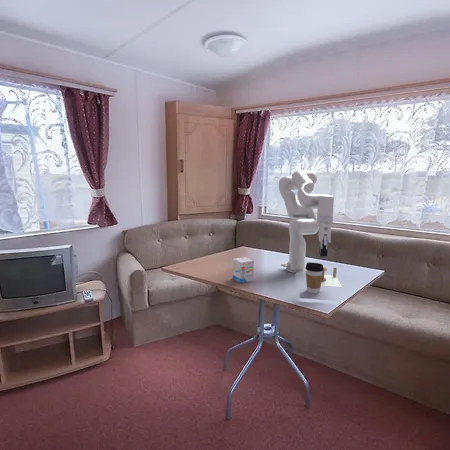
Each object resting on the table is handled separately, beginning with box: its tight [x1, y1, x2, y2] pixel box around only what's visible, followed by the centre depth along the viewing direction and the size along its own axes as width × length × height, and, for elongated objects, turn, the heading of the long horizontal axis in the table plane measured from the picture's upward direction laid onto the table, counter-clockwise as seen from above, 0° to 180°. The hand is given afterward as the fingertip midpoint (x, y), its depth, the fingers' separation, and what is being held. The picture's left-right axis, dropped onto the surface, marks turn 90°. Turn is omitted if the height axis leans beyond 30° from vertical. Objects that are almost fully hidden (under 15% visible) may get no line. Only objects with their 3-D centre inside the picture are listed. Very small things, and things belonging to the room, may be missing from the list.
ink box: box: [232, 256, 254, 284], centre depth 169 cm, size 9×8×12 cm
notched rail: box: [324, 266, 338, 277], centre depth 173 cm, size 11×2×5 cm, turn 80°
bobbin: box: [321, 266, 328, 282], centre depth 166 cm, size 6×6×6 cm
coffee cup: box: [305, 261, 324, 294], centre depth 150 cm, size 8×8×15 cm
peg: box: [319, 241, 327, 259], centre depth 157 cm, size 3×3×8 cm
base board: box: [321, 274, 343, 288], centre depth 166 cm, size 12×19×2 cm, turn 170°
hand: (323, 255), depth 158 cm, fingers closed on peg, 3 cm apart
